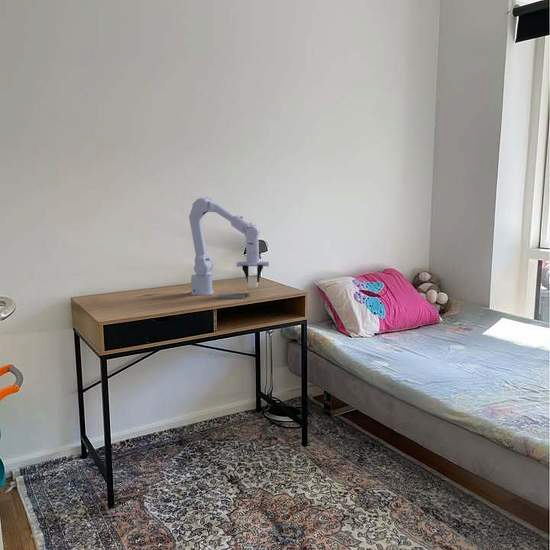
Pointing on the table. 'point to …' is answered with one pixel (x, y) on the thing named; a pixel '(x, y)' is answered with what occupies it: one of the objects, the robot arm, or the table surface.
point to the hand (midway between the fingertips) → (253, 282)
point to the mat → (231, 295)
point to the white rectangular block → (252, 280)
